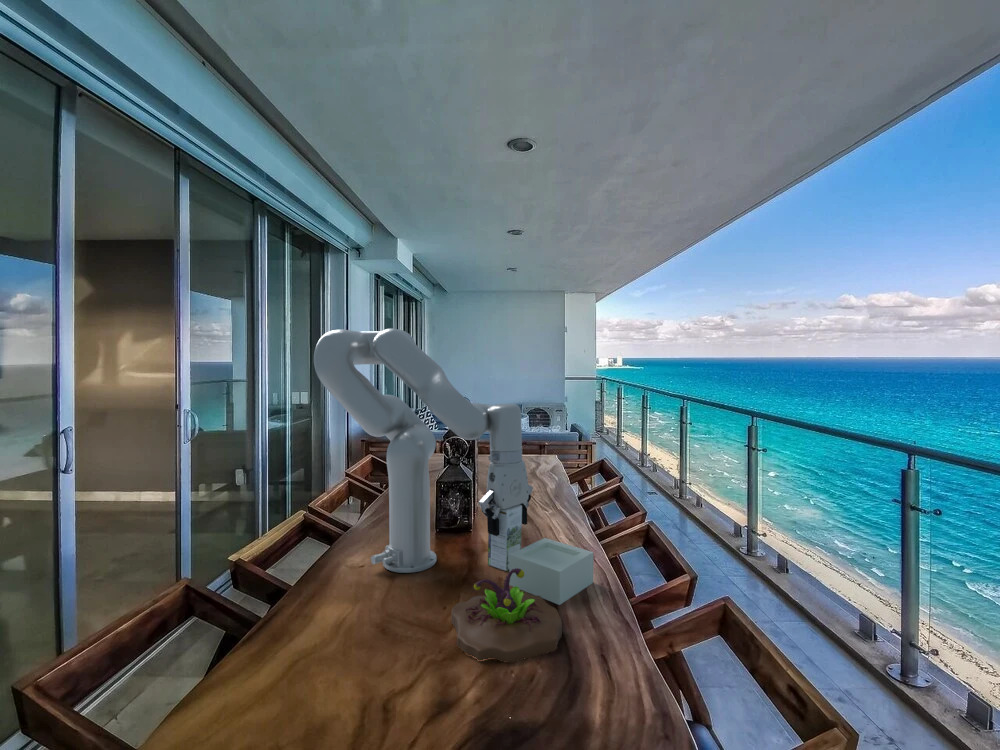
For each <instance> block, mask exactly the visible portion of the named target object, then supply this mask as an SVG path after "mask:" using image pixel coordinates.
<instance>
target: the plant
mask: <svg viewBox="0 0 1000 750" xmlns="http://www.w3.org/2000/svg"><path fill="white" fill-rule="evenodd" d="M512 573H516V575H517V576H518V577H519V578H522V577H523V576H524V571H523V570H522V569H518V568H517V569H516V568H515V569H512V570H511V571H510V572H509V571H508V573H507V575H506V577H505V579H504V584H503V588H501V587H500V586H499V585H498V584H497V583H496V582H495V581H493V580H490V579H482V580H479V581H476V582H475V583H474V585H473V589H474V590H475V591H479V590H480V589H481V588H482V587H481V586H482V583H483V584H484V583H485V584H488V585H490V586H491V587H492V589H493V590H494V591H493V590H491V589H487V588H486V589H484V594H485V595H474V596H473V597H471V598H470V599H468V600H467V601H458V603H456V604H455V605H454V606H453V607H452V609H451V612H450V614H451V616H450V617H451V620H450V621H451V624H453V625H452V627H453V626H454V627H455V628H454V627H453V628H454V629H456V630H455V633H456V632H457V633H456V647H457V646H458V647H460V648H461V649H462V650H463V651H464V652H465V653H467V654H468V655H472V656H474V657H476V658H477V659H478V660H483V659H488V658H495V659H499V660H502V661H506V662H512V663H514V662H513V661H516V662H518V661H517V660H519V661H522V660H521V659H524V658H527V659H530V658H529V657H531V658H534V657H533V656H535V657H537V656H536V655H538V656H542V655H541V654H543V655H545V654H544V653H547V652H551V651H554V650H556V649H557V650H558V646H559V641H560V639H561V638H562V636H563V621H562V618H561V616H560V614H559V612H558V609H557V608H556V607H554V606H552V605H550V604H549V603H548V602H547V601H545V599H543V598H541V597H540V596H536V595H533V594H531V593H524V592H525V591H523V590H520V589H519V587H518V586H516V587H513V586H512V587H511V589H510V585H509V582H510V577H511V575H512ZM557 645H558V646H557ZM557 650H556V651H557ZM554 652H555V651H554ZM551 653H552V652H551ZM547 654H548V653H547ZM524 660H525V659H524ZM502 661H501V662H502Z"/></svg>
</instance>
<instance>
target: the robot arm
mask: <svg viewBox="0 0 1000 750" xmlns="http://www.w3.org/2000/svg"><path fill="white" fill-rule="evenodd" d="M313 352H314V353H313V365H314V369H315V373H316V376H317V378H318V379H319V381H320V383H322V385H323V386H324V388H325V389H326V390H327V392H329V393H330V394H331V395H332V396H333V397H334V398H335V400H336V401H337V402H338V403H339V404H340V405H341V406H342V407H343V409H344V410H345V411H346V412H347V413H348V414H349V415H350V416H351V417H352V419H353V420H354V421H355V422H356V423H357V424H358V425H359V426H360V427H361V429H362V430H364V432H365V433H366V434H368V435H370V436H372V437H375V438H380V437H384V436H385V437H386V438H387V439H388V440H389V441H390V442H389V444H388V445H387V449H386V468H387V469H386V470H387V475H388V476H387V477H388V499H389V500H388V501H389V504H388V505H389V506H388V507H389V508H388V509H389V515H388V516H389V517H388V519H389V520H388V521H389V523H388V525H389V526H388V527H389V528H388V529H389V531H388V532H389V544H387V545H385V548H384V550H383V551H382V553H376V554H373V555H371V556H370V561H371V564H372V565H376V564H379V563H382V566H383V567H384V568H385V569H386V570H389V572H390V571H391V572H394V573H400V574H404V573H405V574H409V573H417V572H422V571H425V570H428V569H430V568H432V567H433V566H435V564H436V563H437V554H436V553H435V552H434V551H432V549H431V495H430V494H431V488H430V487H431V485H430V473H429V472H430V471H429V460H430V459H431V457H432V456H433V454H434V453H435V450H436V446H437V441H436V437H435V435H434V433H433V432H432V431H431V429H430V428H429V427H428V426H427V424H426V423H425V422H424V421H423V420H422V418H420V417H419V416H418V414H416V413H415V412H414V410H413V409H412V408H411V407H409V405H408V404H407V403H406V402H405V401H403V400H402V399H401V398H400V397H398V396H396V395H392V394H383V393H381V392H380V391H379V390H378V389H377V388H376V387H375V386H374V385H373V384H372V382H371V381H370V380H369V379H368V378H367V377H366V376H365V375H364V374H362V373H361V372H360V371H359V370H358V369H357V368H356V367H355V366H357V365H359V366H360V365H384V366H385V367H386V368H387V369H388V370H389V371H390V372H391V373H392V374H394V375H395V376H396V377H397V378H398V379H399V380H400V381H402V382H403V384H405V385H406V386H407V387H409V389H410V390H411V391H412V392H414V393H415V394H416V396H417V397H418V398H419V400H420V401H421V402H422V403H423V404H424V405H425V406H426V407H427V409H428V410H429V411H430V412H431V413H432V414H433V415H434V416H435V417H436V418H437V419H438V420H439V421H440V422H441V423H443V425H444V426H446V427H447V428H448V429H449V430H450V431H451V432H453V433H454V435H456V436H457V437H459V438H461V439H463V440H467V441H474V440H477V439H479V438H480V437H481V436H483V435H484V434H485V433H489V456H488V460H489V462H490V463H489V464H488V471H487V477H486V478H487V479H486V494H484V495H483V497H482V498H481V499H480V500H479V502H478V506H479V507H480V509H481V513H483V514H484V517H486V520H487V534H488V533H489V534H492V535H495V536H498V535H499V518H497V516H498V514H499V511H500V509H508V508H511V507H514V506H516V505H519V504H520V505H522V525H527V524H528V508H529V506H530V503H529V502H530V500H531V498H532V493H533V490H534V486H532V485H530V484H529V480H528V473H527V468H526V463H525V460H523V444H522V443H523V442H522V440H523V439H522V435H523V434H522V430H523V429H522V410H521V407H520V406H519V405H518V404H515V403H498V404H486V403H479V402H478V403H477V402H473V403H472V402H470V401H469V400H468V399H467V398H466V397H464V395H463V394H462V393H460V392H459V390H457V389H456V388H455V387H454V385H453V384H452V383H451V382H450V381H449V379H448V377H447V375H446V373H445V371H444V369H443V368H442V367H441V365H440V364H438V363H437V362H436V361H434V360H433V359H432V358H431V356H430V355H428V354H427V353H426V352H424V351H423V350H422V348H420V347H419V345H417V344H416V341H415V339H414V338H413V336H412V335H411V334H410V333H408V332H407V331H405V330H402V329H397V328H392V327H389V328H386V329H383V330H376V331H375V330H373V331H371V330H370V331H368V330H367V331H359V330H357V331H356V330H350V329H349V330H348V329H342V328H341V329H333V330H330V331H327V332H326V333H324V334H323V335H322V336H321V337H320V338H319V340H318V341H317V343H316V346H315V348H314V351H313ZM493 508H495V510H494V512H492V510H493Z"/></svg>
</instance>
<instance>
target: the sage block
mask: <svg viewBox="0 0 1000 750" xmlns="http://www.w3.org/2000/svg"><path fill="white" fill-rule="evenodd" d="M515 568H516V569H517V568H518V569H522V570H523V571H524V576H523V577H522V578H519V577H518V576H517V575H516V573H512V575H511V577H510V582H509V587H512V588H513V587H516V586H518V587H519V589H520V591H523V592H526V593H527V594H530V595H536V596H540V597H541V598H542V599H543V600H547V601H548V602H550V603H553V604H556V605H557V606H558V605H559V606H560V605H562V604H564V603H565V602H567V601H568V600H570V599H571V598H572V597H574V596H575V595H577V594H579V593H580V592H582V591H583V590H585V589H586V588H587V587H589V586H590V585H592V584H594V551H591V550H587V549H585V548H580V547H576V546H573V545H570V544H567V543H564V542H560V541H557V540H553V539H551V538H547V537H544V538H542V539H539V540H536V541H534V542H533V543H530V544H529V545H527V546H524V547H521V549H520V550H518V551H516V552H514V553H512V554H510V559H509V570H508V573H509V572H510V571H511V570H512V569H515Z"/></svg>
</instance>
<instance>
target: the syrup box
mask: <svg viewBox="0 0 1000 750" xmlns="http://www.w3.org/2000/svg"><path fill="white" fill-rule="evenodd" d="M494 510H495V508H493V510H492V512H494ZM497 518H499V535H498V536H495V535H492V534H489V533H488V532H487V534H488V535H487V536H488V537H487V538H488V540H487V543H488V545H487V565H488V566H491V567H493V568H496V569H498V570H502V571H505V572H507V571H509V559H510V554H512V553H514V552H516V551H518V550H520V549H522V531H523V530H522V527H523V526H522V525H523V524H522V505H520V504H519V505H516V506H514V507H511V508H508V509H500V511H499V514H498V516H497Z"/></svg>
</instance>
